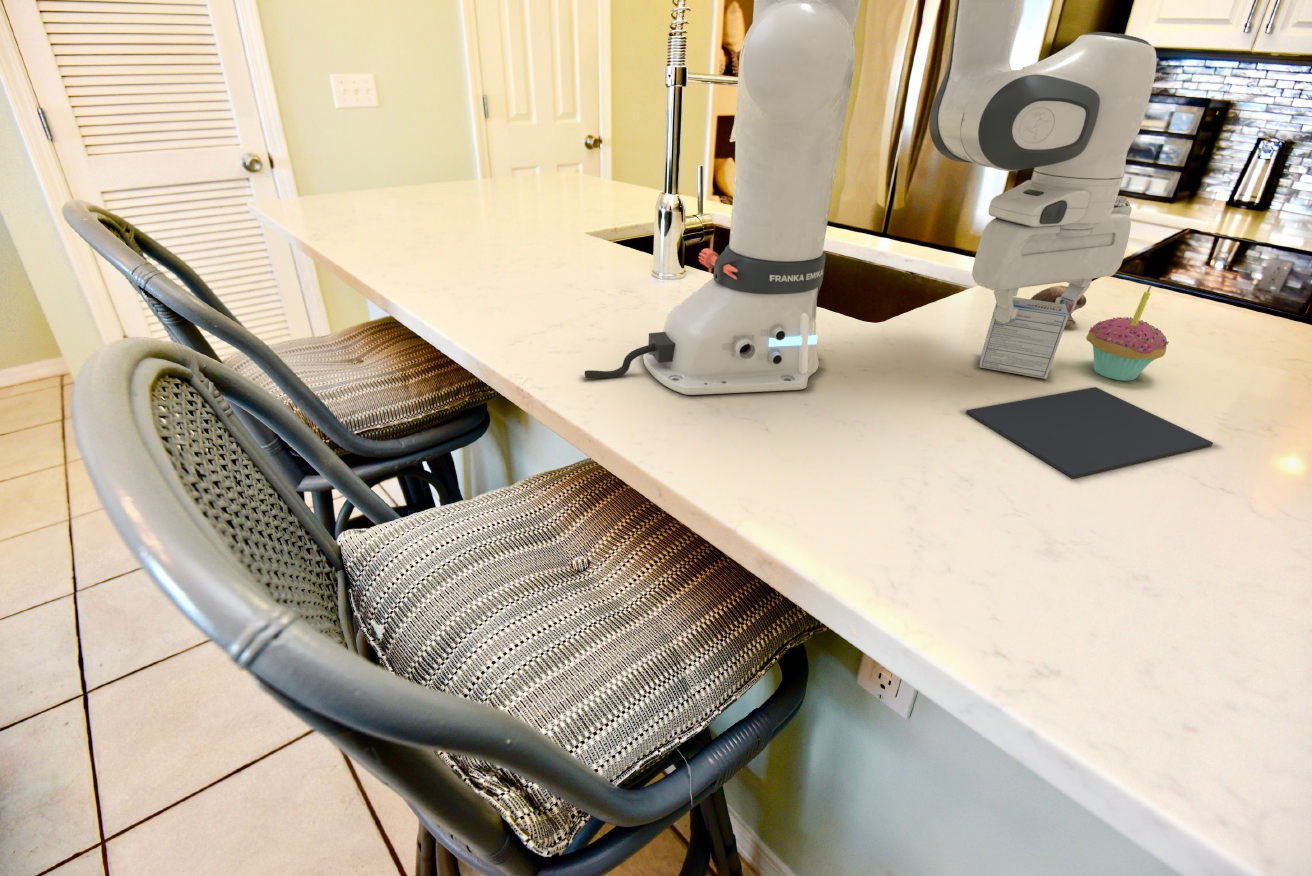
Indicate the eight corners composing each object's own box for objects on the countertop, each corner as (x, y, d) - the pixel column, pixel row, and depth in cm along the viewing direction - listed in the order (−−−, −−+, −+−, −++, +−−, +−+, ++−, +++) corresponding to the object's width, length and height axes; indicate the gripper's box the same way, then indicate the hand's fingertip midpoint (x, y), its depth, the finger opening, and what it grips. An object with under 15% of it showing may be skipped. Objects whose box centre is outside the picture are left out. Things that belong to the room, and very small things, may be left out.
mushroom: (1099, 315, 95) (1088, 274, 96) (1037, 330, 98) (1027, 290, 98) (1085, 325, 102) (1075, 286, 103) (1028, 339, 105) (1018, 301, 106)
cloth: (1072, 478, 63) (1073, 475, 63) (965, 413, 75) (966, 409, 74) (1211, 445, 70) (1213, 442, 70) (1094, 389, 81) (1095, 386, 81)
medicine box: (1044, 368, 86) (1067, 303, 82) (1046, 381, 83) (1070, 313, 78) (979, 357, 89) (998, 293, 85) (978, 368, 85) (997, 302, 81)
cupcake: (1152, 393, 81) (1196, 297, 75) (1073, 376, 84) (1108, 283, 78) (1151, 369, 87) (1190, 279, 81) (1077, 354, 91) (1110, 267, 85)
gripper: (1110, 190, 81) (1074, 300, 88) (979, 200, 75) (951, 318, 82) (1160, 199, 76) (1117, 315, 83) (1023, 211, 70) (989, 335, 77)
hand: (1033, 317), depth 82 cm, fingers open, 8 cm apart
